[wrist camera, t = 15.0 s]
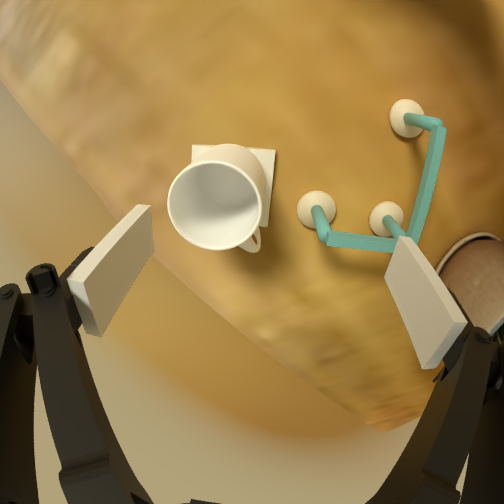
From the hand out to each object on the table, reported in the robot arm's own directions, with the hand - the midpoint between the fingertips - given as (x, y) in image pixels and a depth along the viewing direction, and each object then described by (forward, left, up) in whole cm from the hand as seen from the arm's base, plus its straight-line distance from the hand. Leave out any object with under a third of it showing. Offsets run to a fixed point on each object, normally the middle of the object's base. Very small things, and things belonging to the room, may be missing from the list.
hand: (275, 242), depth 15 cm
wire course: (-1, +11, -22) cm, 25 cm away
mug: (+4, -4, -22) cm, 22 cm away
